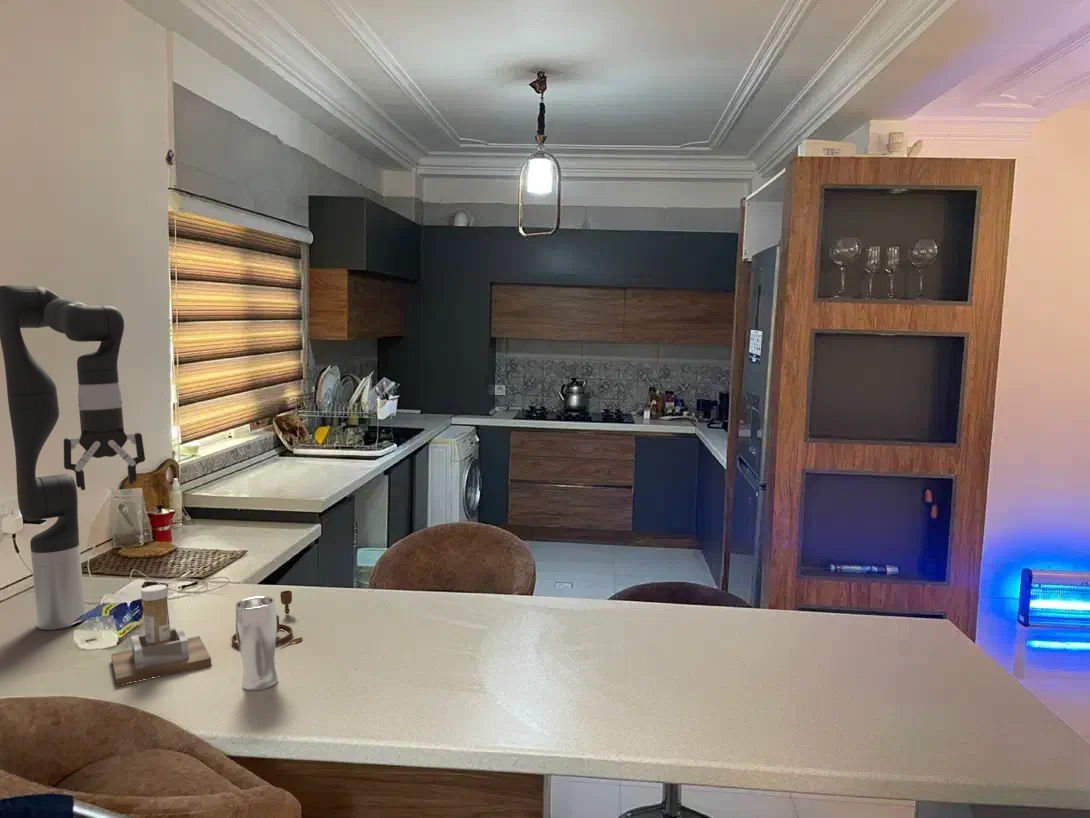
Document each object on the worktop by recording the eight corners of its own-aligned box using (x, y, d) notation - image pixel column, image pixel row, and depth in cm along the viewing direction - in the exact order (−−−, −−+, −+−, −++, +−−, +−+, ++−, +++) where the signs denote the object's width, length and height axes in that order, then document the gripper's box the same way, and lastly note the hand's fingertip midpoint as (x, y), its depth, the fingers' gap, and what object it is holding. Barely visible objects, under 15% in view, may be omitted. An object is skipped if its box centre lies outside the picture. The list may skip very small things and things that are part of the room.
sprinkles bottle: (174, 656, 156) (169, 588, 155) (148, 662, 154) (142, 592, 153) (170, 648, 160) (165, 582, 159) (144, 654, 158) (139, 586, 156)
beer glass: (242, 695, 141) (236, 611, 140) (237, 680, 148) (231, 600, 146) (283, 686, 145) (278, 604, 143) (277, 672, 151) (272, 593, 149)
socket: (111, 661, 159) (109, 636, 158) (199, 643, 167) (198, 619, 166) (116, 686, 147) (114, 659, 146) (211, 665, 155) (209, 640, 155)
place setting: (209, 644, 168) (207, 616, 167) (286, 614, 185) (284, 589, 184) (267, 659, 159) (265, 630, 158) (342, 626, 176) (340, 600, 175)
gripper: (138, 403, 169) (144, 480, 170) (58, 408, 162) (65, 488, 163) (142, 405, 163) (148, 485, 164) (59, 410, 155) (66, 494, 157)
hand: (107, 486), depth 164 cm, fingers open, 8 cm apart
